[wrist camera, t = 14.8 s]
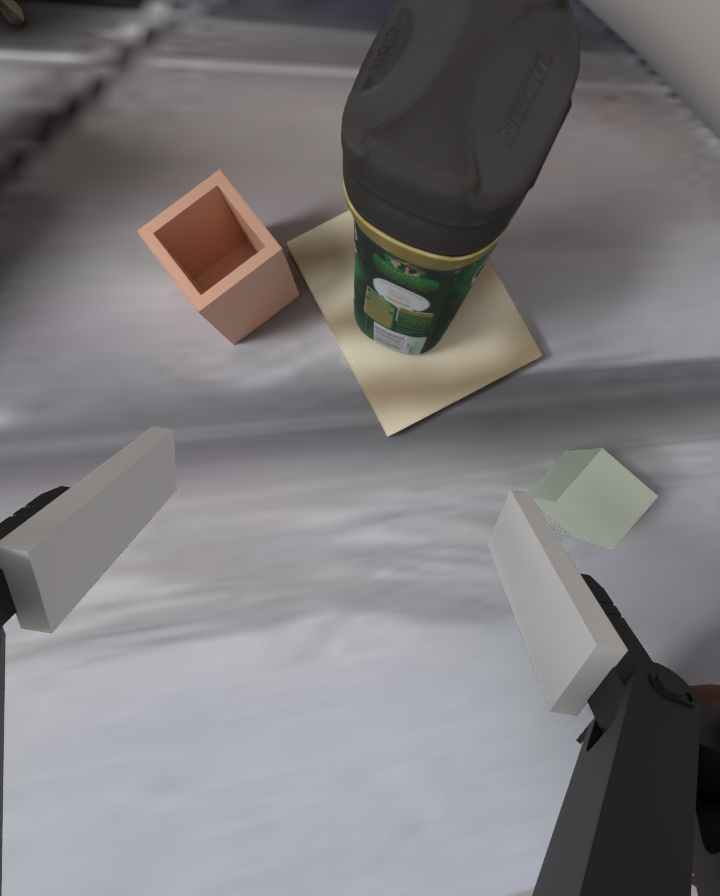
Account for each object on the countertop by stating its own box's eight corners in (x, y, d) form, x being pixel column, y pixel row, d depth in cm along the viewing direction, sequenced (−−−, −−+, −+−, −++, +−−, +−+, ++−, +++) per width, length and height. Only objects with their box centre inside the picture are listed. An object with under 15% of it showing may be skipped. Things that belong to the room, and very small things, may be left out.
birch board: (289, 250, 32) (286, 242, 31) (434, 175, 33) (436, 164, 31) (387, 437, 32) (388, 436, 30) (536, 359, 32) (542, 355, 30)
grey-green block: (525, 496, 31) (555, 502, 26) (564, 450, 31) (602, 448, 26) (571, 536, 31) (611, 550, 26) (611, 491, 31) (658, 496, 26)
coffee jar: (389, 225, 31) (425, -127, 13) (477, 265, 31) (646, -35, 12) (338, 331, 31) (298, 127, 12) (427, 372, 31) (524, 228, 12)
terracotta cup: (185, 281, 32) (136, 231, 25) (250, 232, 33) (219, 169, 26) (234, 345, 32) (198, 312, 25) (299, 295, 32) (282, 248, 25)
